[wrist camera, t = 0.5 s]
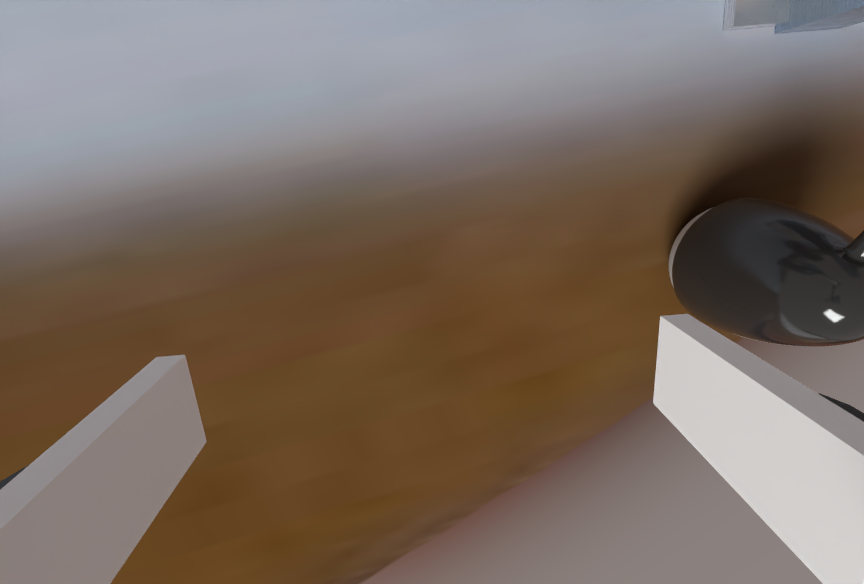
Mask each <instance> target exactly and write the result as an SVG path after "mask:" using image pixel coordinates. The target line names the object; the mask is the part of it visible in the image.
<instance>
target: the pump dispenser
mask: <svg viewBox="0 0 864 584" xmlns="http://www.w3.org/2000/svg"><path fill="white" fill-rule="evenodd" d="M669 274H670V279H671V282H672V285H673V287H674V290H675V293H676V295H677V297H678V299H679V301H680V303H681V304H682V305H683V307H684V308H685V309H686V310H687V311H688V312H689V313H691V314H692V315H693V316H695V317H696V318H698V319H700V320H701V321H703V322H705V323H707V324H709V325H711V326H714V327H716V328H719V329H721V330H724V331H727V332H729V333H732V334H735V335H739V336H742V337H745V338H749V339H753V340H758V341H762V342H768V343H775V344H782V345H792V346H836V345H843V344H849V343H853V342H857V341H861V340H863V339H864V231H863V232H862V233H861V234H860V235H859V236H858V237H857V238H856V239H854V238H853V237H851V236H850V235H849V234H847V233H846V232H844V231H843V230H841V229H840V228H838V227H836V226H835V225H833V224H831V223H830V222H828V221H826V220H824V219H822V218H820V217H818V216H816V215H814V214H811V213H809V212H807V211H804V210H801V209H799V208H796V207H793V206H790V205H787V204H784V203H781V202H777V201H773V200H768V199H762V198H739V199H734V200H730V201H727V202H724V203H721V204H719V205H717V206H715V207H713V208H710V209H708V210H706V211H704V212H702V213H701V214H699V215H697V216H696V217H695V218H693V219H692V220H691V221H690V222H689V223H688V224H687V225H686V226H685V227H684V228H683V229H682V230H681V232H680V233H679V234H678V236H677V238H676V239H675V241H674V244H673V246H672V249H671V252H670V257H669Z"/></svg>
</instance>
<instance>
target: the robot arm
mask: <svg viewBox="0 0 864 584" xmlns="http://www.w3.org/2000/svg"><path fill="white" fill-rule="evenodd" d="M653 403H654V405H655V406H656V407H657V408H658V409H659V410H660V411H661V412H662V413H663V414H664V415H665V416H666V417H667V418H668V419H669V420H670V422H671V423H672V424H673V425H674V426H675V427H676V428H677V429H678V430H679V431H680V432H681V433H682V434H683V435H684V436H685V438H687V440H688V441H689V442H690V443H691V444H692V445H693V446H694V447H695V448H696V449H697V450H698V451H699V452H700V453H701V454H702V456H703V457H704V458H705V459H706V460H707V461H708V462H709V463H710V464H711V465H712V466H713V467H714V468H715V469H716V470H717V472H718V473H719V474H720V475H721V476H722V477H723V478H724V479H725V480H726V481H727V482H728V483H729V484H730V485H731V486H732V487H733V489H734V490H735V491H736V492H737V493H738V494H739V495H740V496H741V497H742V498H743V499H744V500H745V501H746V502H747V503H748V504H749V506H750V507H751V508H752V509H753V510H754V511H755V512H756V513H757V514H758V515H759V516H760V517H761V518H762V519H763V520H764V522H766V524H767V525H768V526H769V527H770V528H771V529H772V530H773V531H774V532H775V533H776V534H777V535H778V536H779V537H780V538H781V540H782V541H783V542H784V543H785V544H786V545H787V546H788V547H789V548H790V549H791V550H792V551H793V552H794V553H795V554H796V556H797V557H798V558H799V559H800V560H801V561H802V562H803V563H804V564H805V565H806V566H807V567H808V568H809V569H810V570H811V571H812V572H813V573H814V575H816V577H817V578H818V579H819V580H820V581H821V582H822V583H823V584H864V413H862V412H861V411H859V410H857V409H855V408H854V407H852V406H850V405H848V404H846V403H843V402H840V401H838V400H835V399H833V398H830V397H827V396H825V395H822V394H820V393H819V394H818V393H816V392H814V391H813V390H811V389H809V388H808V387H806V386H804V385H803V384H801V383H800V382H798V381H796V380H795V379H793V378H791V377H790V376H788V375H786V374H785V373H783V372H781V371H780V370H778V369H777V368H775V367H773V366H772V365H770V364H769V363H767V362H765V361H763V360H762V359H760V358H759V357H757V356H755V355H754V354H752V353H751V352H749V351H747V350H746V349H744V348H742V347H740V346H739V345H737V344H736V343H734V342H733V341H731V340H729V339H728V338H726V337H724V336H723V335H721V334H719V333H718V332H716V331H715V330H713V329H711V328H710V327H708V326H706V325H705V324H703V323H702V322H700V321H698V320H697V319H695V318H693V317H692V316H690V315H688V314H680V315H668V316H660V327H659V339H658V351H657V363H656V375H655V388H654V400H653ZM205 443H206V438H205V434H204V430H203V426H202V422H201V418H200V414H199V410H198V405H197V401H196V397H195V393H194V389H193V385H192V381H191V377H190V373H189V369H188V365H187V361H186V357H185V355H178V356H165V357H156V358H155V359H154V360H153V361H151V362H150V363H149V364H148V365H147V366H146V367H144V368H143V369H142V370H141V371H140V372H138V373H137V374H136V375H135V376H134V377H133V378H131V379H130V380H129V381H128V382H127V383H126V384H124V385H123V386H122V387H121V388H120V389H118V390H117V391H116V392H115V393H114V394H113V395H111V396H110V397H109V398H108V399H107V400H105V401H104V402H103V403H102V404H101V405H100V406H98V407H97V408H96V409H95V410H94V411H92V412H91V413H90V414H89V415H88V416H87V417H85V418H84V419H83V420H82V421H81V422H80V423H78V424H77V425H76V426H75V427H74V428H72V429H71V430H70V431H69V432H68V433H67V434H65V435H64V436H63V437H62V438H61V439H59V440H58V441H57V442H56V443H55V444H54V445H52V446H51V447H50V448H49V449H48V450H46V451H45V452H44V453H43V454H42V455H41V456H39V457H38V458H37V459H36V460H35V461H33V462H32V463H31V464H30V465H28V466H26V467H25V468H23V469H21V470H19V471H18V472H16V473H14V474H13V475H11V476H9V477H7V478H6V479H4V480H2V481H1V482H0V584H110V583H111V582H112V580H113V579H114V577H115V576H116V574H117V573H118V571H119V570H120V568H121V567H122V565H123V564H124V562H125V561H126V560H127V558H128V557H129V555H130V554H131V552H132V551H133V549H134V548H135V546H136V545H137V543H138V542H139V540H140V539H141V537H142V536H143V534H144V533H145V532H146V530H147V529H148V527H149V526H150V524H151V523H152V521H153V520H154V518H155V517H156V515H157V514H158V512H159V511H160V509H161V508H162V506H163V505H164V503H165V502H166V501H167V499H168V498H169V496H170V495H171V493H172V492H173V490H174V489H175V487H176V486H177V484H178V483H179V481H180V480H181V478H182V477H183V475H184V474H185V473H186V471H187V470H188V468H189V467H190V465H191V464H192V462H193V461H194V459H195V458H196V456H197V455H198V453H199V452H200V450H201V449H202V447H203V446H204V445H205Z"/></svg>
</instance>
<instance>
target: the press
mask: <svg viewBox="0 0 864 584" xmlns="http://www.w3.org/2000/svg"><path fill="white" fill-rule="evenodd" d="M861 22H864V0H726V1H725V12H724V23H723V30H735V29H748V28H760V27H772V26H775V34H776V33H788V32H801V31H813V30H825V29H837V28H843V27H846V26H850V25H853V24H857V23H861Z"/></svg>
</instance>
